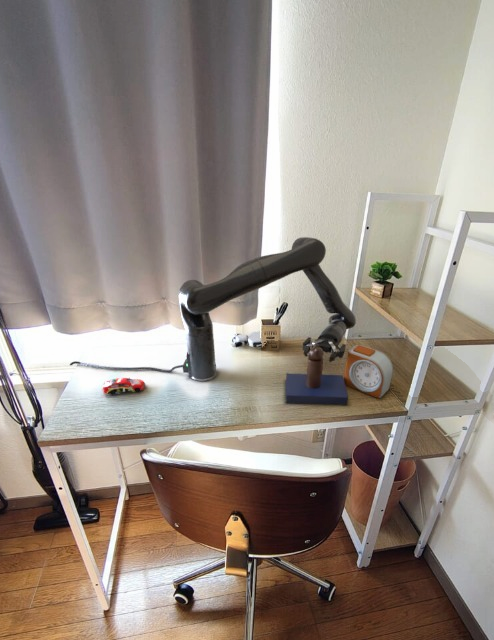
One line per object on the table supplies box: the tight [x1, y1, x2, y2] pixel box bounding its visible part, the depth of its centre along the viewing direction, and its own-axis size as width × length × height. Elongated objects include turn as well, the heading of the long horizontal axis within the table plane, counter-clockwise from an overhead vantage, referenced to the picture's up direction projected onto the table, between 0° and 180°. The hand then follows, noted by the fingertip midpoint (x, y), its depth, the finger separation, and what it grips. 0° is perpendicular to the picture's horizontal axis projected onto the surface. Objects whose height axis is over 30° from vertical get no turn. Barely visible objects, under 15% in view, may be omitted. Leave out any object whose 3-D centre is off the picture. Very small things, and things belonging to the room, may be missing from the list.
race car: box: [102, 377, 146, 396], centre depth 123 cm, size 13×5×4 cm, turn 103°
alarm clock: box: [343, 344, 394, 399], centre depth 128 cm, size 15×8×14 cm, turn 53°
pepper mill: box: [306, 343, 325, 389], centre depth 121 cm, size 5×5×14 cm
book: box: [285, 372, 349, 406], centre depth 126 cm, size 20×14×3 cm
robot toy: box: [230, 331, 266, 350], centre depth 154 cm, size 12×4×15 cm
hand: (318, 356), depth 122 cm, fingers open, 8 cm apart
